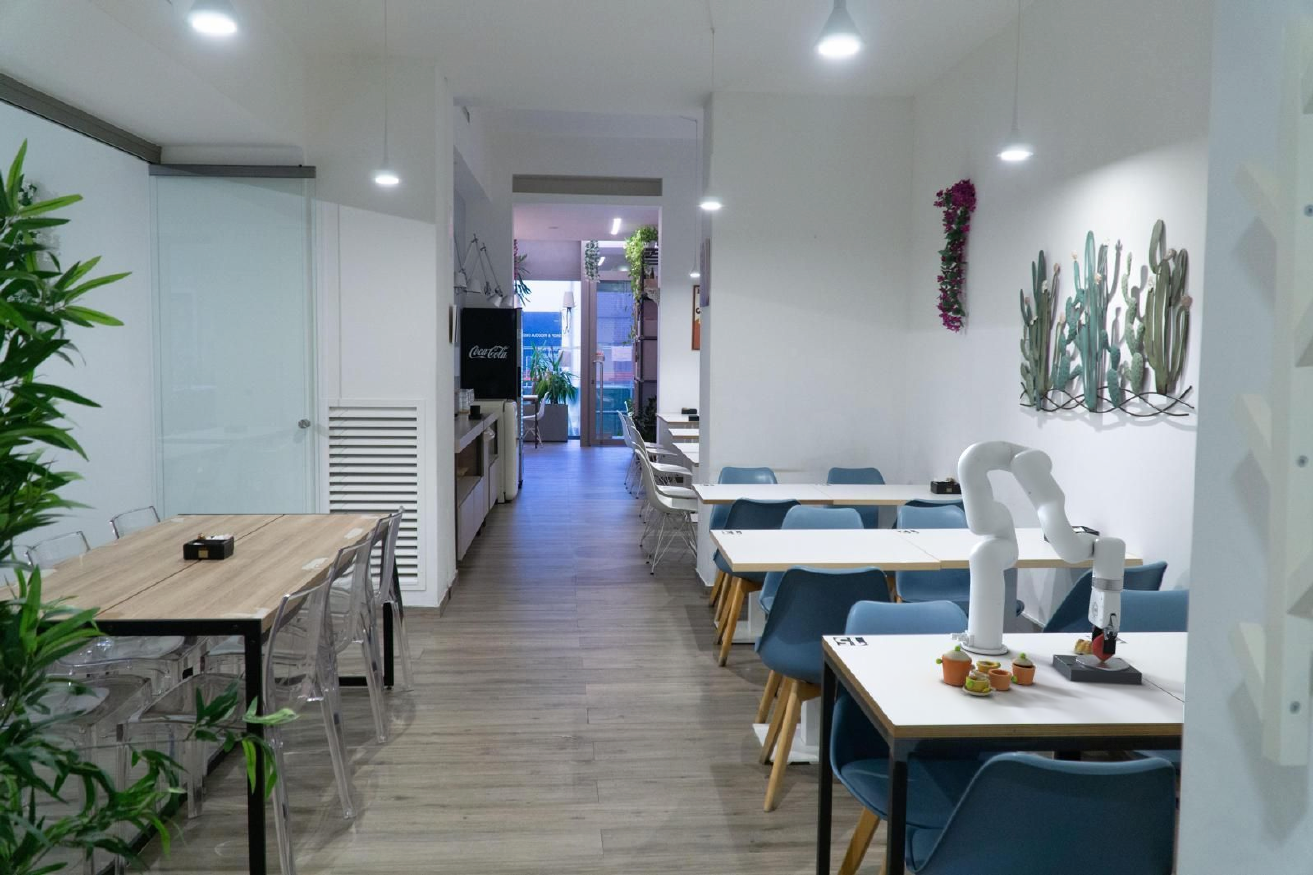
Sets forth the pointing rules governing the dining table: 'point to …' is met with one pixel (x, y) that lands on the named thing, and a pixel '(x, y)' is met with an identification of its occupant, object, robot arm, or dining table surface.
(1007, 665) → the dining table surface
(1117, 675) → the scale
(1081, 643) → the pastry
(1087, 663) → the scale pan
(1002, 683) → the toy tea set
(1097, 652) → the onion
